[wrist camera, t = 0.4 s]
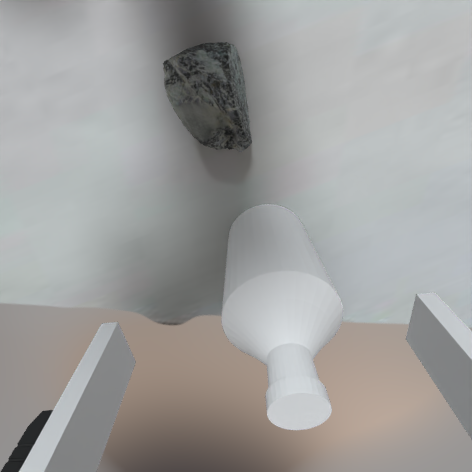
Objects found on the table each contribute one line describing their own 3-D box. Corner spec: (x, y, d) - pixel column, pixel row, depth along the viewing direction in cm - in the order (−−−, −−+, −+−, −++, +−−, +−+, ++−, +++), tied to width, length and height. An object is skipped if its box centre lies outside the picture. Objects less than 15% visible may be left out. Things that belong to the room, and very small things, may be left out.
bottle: (216, 260, 44) (195, 439, 22) (242, 190, 38) (250, 337, 16) (286, 280, 46) (333, 465, 24) (320, 217, 40) (422, 380, 18)
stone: (268, 103, 24) (148, 80, 23) (247, 170, 33) (161, 155, 32) (274, 29, 27) (170, 5, 26) (253, 108, 37) (176, 93, 36)
